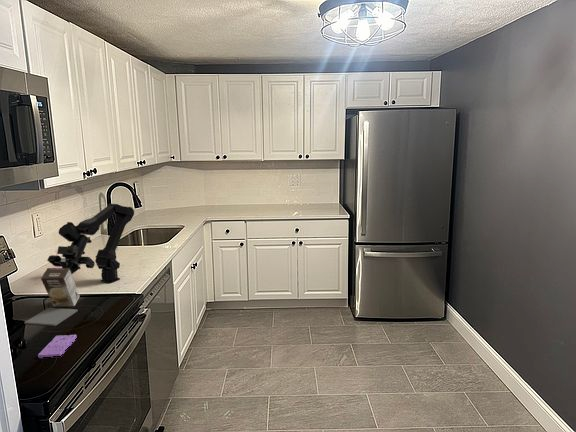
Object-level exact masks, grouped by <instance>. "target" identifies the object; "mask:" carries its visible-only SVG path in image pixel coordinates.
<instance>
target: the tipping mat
mask: <svg viewBox="0 0 576 432" xmlns="http://www.w3.org/2000/svg"><path fill="white" fill-rule="evenodd" d="M77 312H78V309H73V308H58V307H57V308H56V307H48V308H46V309H45V310H42V311H41V312H39V313H37V314H36V315H34V316H33V317H31V318H29V319H28V320H26V321H24V324H26V325H37V326H39V325H40V326H53V327H54V326H55V327H56V326H57V325H59V324H61V323H62V322H64V321H65V320H67V319H68V318H70V317H72V315H74V314H76V313H77Z"/></svg>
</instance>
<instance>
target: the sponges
mask: <svg viewBox="0 0 576 432" xmlns="http://www.w3.org/2000/svg"><path fill="white" fill-rule="evenodd" d="M76 338H77V334H69V335H55V337H53V339H52V340H51V341H50V342H49V343H48V344H47V345H46V346H45V347H44V348H43V349H42V350H41V351H40V352H39V353H38V355H37V357H38V358H39V359H44V358H43V357H51V358H54V357H53V356H61V355H62V354H63V355H64V354H65V352H66V351H67V350H68V349H69V348H68V347H69V346H70V347H71V346H72V345H73V343H74V342H75V341H76V340H77V339H76ZM75 339H76V340H75ZM72 342H73V343H72ZM67 348H68V349H67ZM66 349H67V350H66ZM65 350H66V351H65ZM63 355H62V356H63ZM62 356H61V357H62Z"/></svg>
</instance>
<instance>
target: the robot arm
mask: <svg viewBox="0 0 576 432" xmlns="http://www.w3.org/2000/svg"><path fill="white" fill-rule="evenodd" d="M113 215H114V220H115V222H114V224H113V227H112V229H111V232H110V235H109V237H108V239H107V242H106V244H105V246H104V248H102V249H98V251H97V253H96V255H95V260H94V259H92V258H91V257H90V256H82V255H85V254H86V252H85V249H86V246H87V244H91V243H92V240H91V237H90V236H94V235H95V234H96V233H97V232H98V231H99V230H100V227H101V225H102V224H104V223H105V222H106V221H108V220H109V218H111V217H112V216H113ZM134 216H135V210H134V208H133V207H132V206H123V205H120V204H118V203H109V204H107V206H105V207H104V208H103V209H102V210H101V211H99V212H98V213H97V214H95V215H94V216H92V217H91V218H86V219H84V220H82V221H80V222H79V223H78V224H77V225H75V224H74V223H73V222H71V221H67V222H66V223H65V224H63V225H62V226H61V227H59V229H58V234H59V235H60V236H61V237H62V238H63V239H65V240H66V241H67V242H70V243H71V244H70V245H67V246H62V245H61V246H59V245H58V247H57V255H56V254H54V255H53V254H52V255H51V254H50V255H49V256H48V257H47V259H46V261H47V262H48V263H49V264H51V266H52V265H54V266H56V267H62V268H69V269H70V272H71V274H72V275H73V274H74V273H76V272H77V271H78V270H81V269H82V267H81V265H85V267H86V268H87V269H94V266H95V265H96V267H97V268H98V269H99V270H101V274H100V275H101V280H100V282H102V283H107V284H111V283H114V282H117V281H119V280H121V278H120V277H119V275H118V269H120V266H121V263H120V262H119V261H117V260H116V259H117V253H116V249H117V247H118V245H119V242H120V240H121V238H122V235H123V232H124V230H125V228H126V225H127V224H128V223H129V222H131V221H132V219H133V217H134ZM60 255H61V256H62V257H61V256H60Z"/></svg>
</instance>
